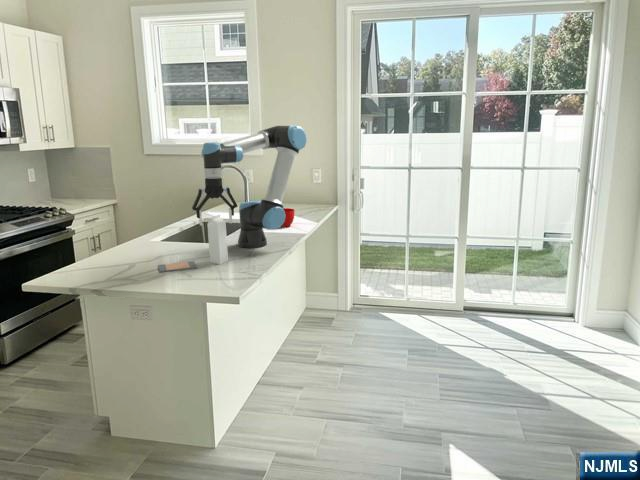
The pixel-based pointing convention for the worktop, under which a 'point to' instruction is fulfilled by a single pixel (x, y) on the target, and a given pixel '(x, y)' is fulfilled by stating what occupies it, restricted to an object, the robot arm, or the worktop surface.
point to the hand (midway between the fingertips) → (216, 224)
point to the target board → (177, 266)
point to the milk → (217, 240)
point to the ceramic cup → (288, 217)
